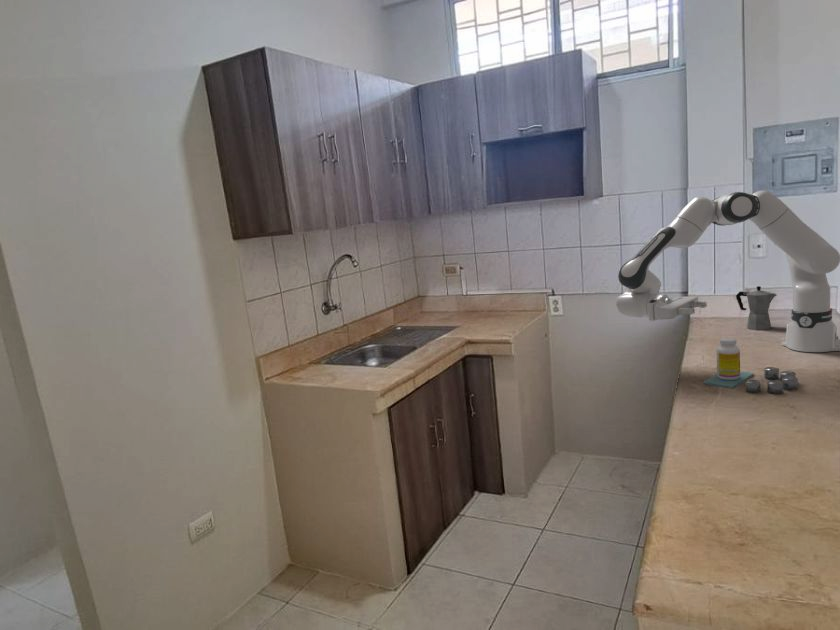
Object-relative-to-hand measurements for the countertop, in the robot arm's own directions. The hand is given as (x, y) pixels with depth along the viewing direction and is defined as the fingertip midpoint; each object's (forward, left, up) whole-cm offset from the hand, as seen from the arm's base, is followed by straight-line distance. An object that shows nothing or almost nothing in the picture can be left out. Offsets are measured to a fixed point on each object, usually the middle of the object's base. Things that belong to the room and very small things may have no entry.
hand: (699, 308), depth 191 cm
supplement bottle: (+5, +11, -22) cm, 25 cm away
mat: (+5, +11, -22) cm, 25 cm away
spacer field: (+5, +25, -22) cm, 33 cm away
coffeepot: (-67, -7, -22) cm, 71 cm away
